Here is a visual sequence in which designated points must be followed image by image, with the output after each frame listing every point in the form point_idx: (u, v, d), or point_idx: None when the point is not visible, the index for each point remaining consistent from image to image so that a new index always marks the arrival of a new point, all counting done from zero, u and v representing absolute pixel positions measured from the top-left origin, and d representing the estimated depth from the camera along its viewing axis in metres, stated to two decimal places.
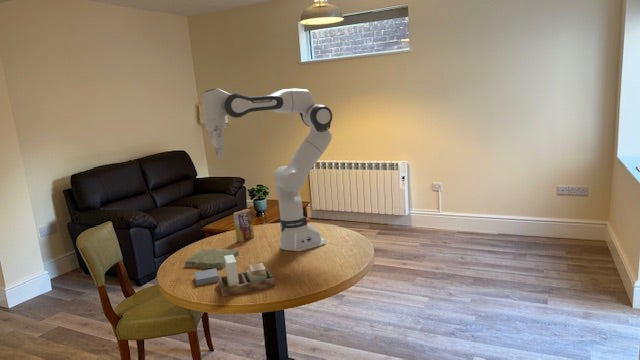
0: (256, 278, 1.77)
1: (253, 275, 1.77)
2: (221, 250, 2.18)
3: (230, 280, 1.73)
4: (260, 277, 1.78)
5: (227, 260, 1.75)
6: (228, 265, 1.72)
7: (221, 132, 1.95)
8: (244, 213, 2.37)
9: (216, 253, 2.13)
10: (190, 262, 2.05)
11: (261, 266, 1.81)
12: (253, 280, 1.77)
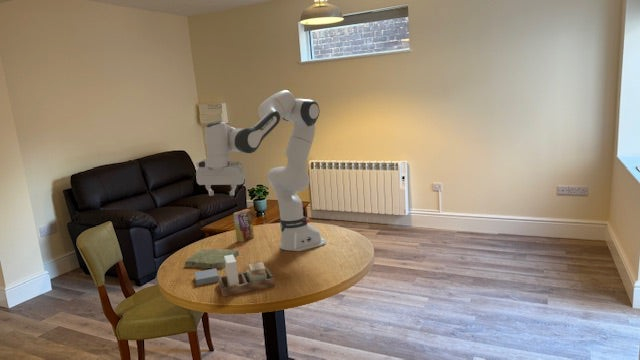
0: (256, 277, 1.77)
1: (253, 274, 1.77)
2: (221, 250, 2.18)
3: (230, 280, 1.73)
4: (260, 276, 1.78)
5: (227, 260, 1.75)
6: (228, 265, 1.72)
7: None
8: (244, 213, 2.37)
9: (216, 253, 2.13)
10: (190, 262, 2.05)
11: (261, 265, 1.81)
12: (253, 279, 1.77)
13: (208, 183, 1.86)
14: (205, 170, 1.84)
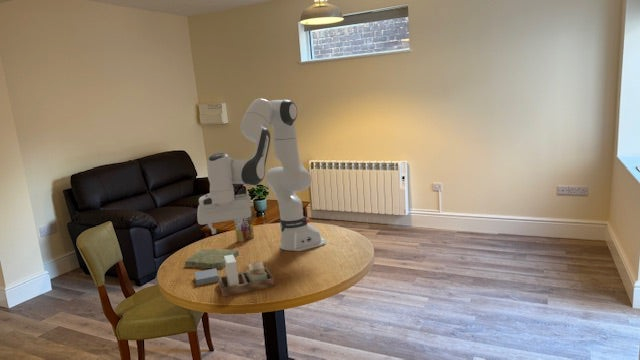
0: (256, 277, 1.77)
1: (252, 274, 1.77)
2: (221, 250, 2.18)
3: (230, 280, 1.73)
4: (260, 276, 1.78)
5: (227, 260, 1.75)
6: (228, 265, 1.72)
7: None
8: None
9: (216, 253, 2.13)
10: (190, 262, 2.05)
11: (261, 265, 1.81)
12: (253, 279, 1.77)
13: (213, 221, 1.71)
14: (210, 207, 1.69)
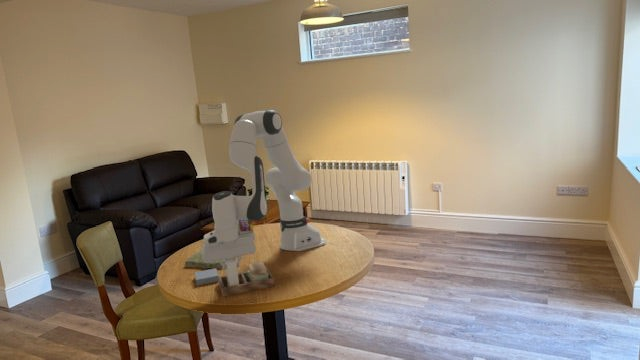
0: (258, 278, 1.77)
1: (254, 275, 1.77)
2: None
3: (230, 280, 1.73)
4: (262, 277, 1.78)
5: (227, 260, 1.75)
6: (228, 265, 1.72)
7: None
8: None
9: None
10: (190, 262, 2.05)
11: (262, 265, 1.81)
12: (255, 280, 1.77)
13: (218, 258, 1.73)
14: (215, 245, 1.72)
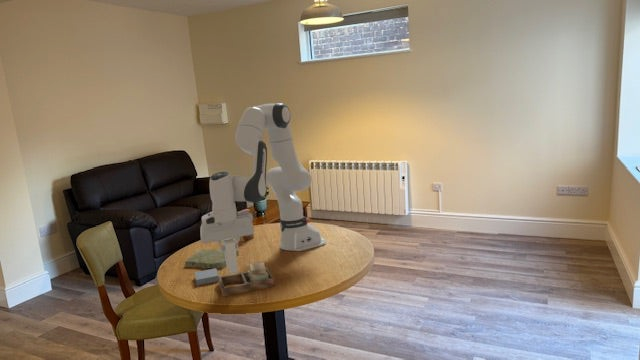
0: (258, 278, 1.77)
1: (253, 274, 1.77)
2: None
3: (229, 261, 1.72)
4: (262, 277, 1.78)
5: (225, 241, 1.74)
6: (226, 246, 1.71)
7: None
8: None
9: (216, 253, 2.13)
10: (190, 262, 2.05)
11: (262, 265, 1.81)
12: (255, 280, 1.77)
13: (216, 239, 1.72)
14: (213, 226, 1.70)
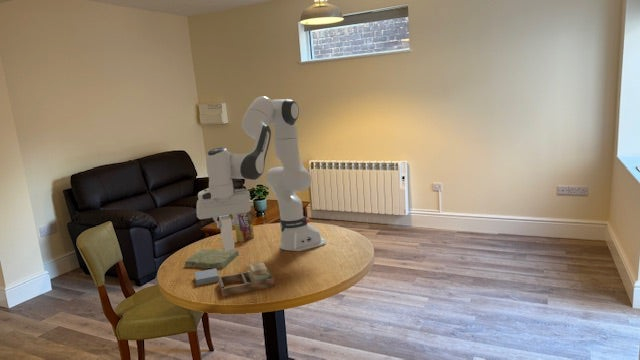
0: (259, 278, 1.77)
1: (254, 275, 1.77)
2: (221, 250, 2.18)
3: (225, 238, 1.70)
4: (263, 277, 1.78)
5: (222, 218, 1.72)
6: (223, 222, 1.69)
7: None
8: (244, 213, 2.37)
9: (216, 253, 2.13)
10: (190, 262, 2.05)
11: (262, 266, 1.81)
12: (256, 280, 1.77)
13: (212, 216, 1.70)
14: (209, 202, 1.69)
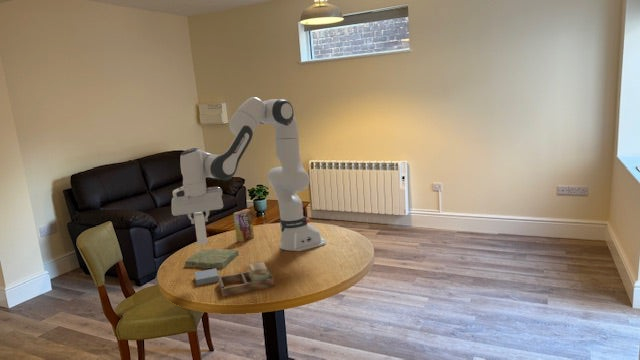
0: (259, 277, 1.78)
1: (254, 274, 1.77)
2: (221, 250, 2.18)
3: (198, 233, 1.81)
4: (263, 276, 1.78)
5: (195, 214, 1.82)
6: (196, 218, 1.80)
7: None
8: (244, 213, 2.37)
9: (216, 253, 2.13)
10: (190, 262, 2.05)
11: (262, 265, 1.81)
12: (256, 280, 1.77)
13: (186, 212, 1.81)
14: (183, 199, 1.79)
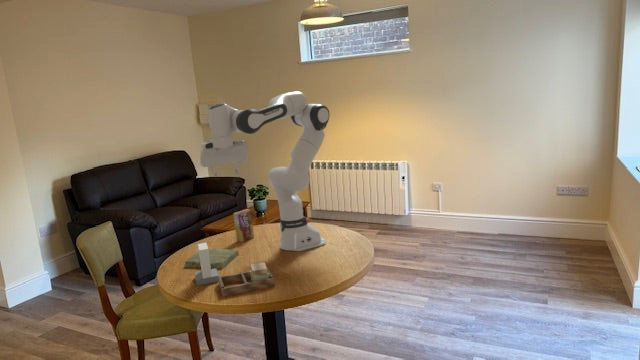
0: (258, 278, 1.77)
1: (254, 275, 1.77)
2: (221, 250, 2.18)
3: (202, 266, 1.83)
4: (262, 277, 1.78)
5: (200, 247, 1.85)
6: (200, 252, 1.82)
7: None
8: (244, 213, 2.37)
9: (216, 253, 2.13)
10: (190, 262, 2.05)
11: (263, 266, 1.81)
12: (255, 280, 1.77)
13: (214, 164, 1.91)
14: (212, 151, 1.89)
